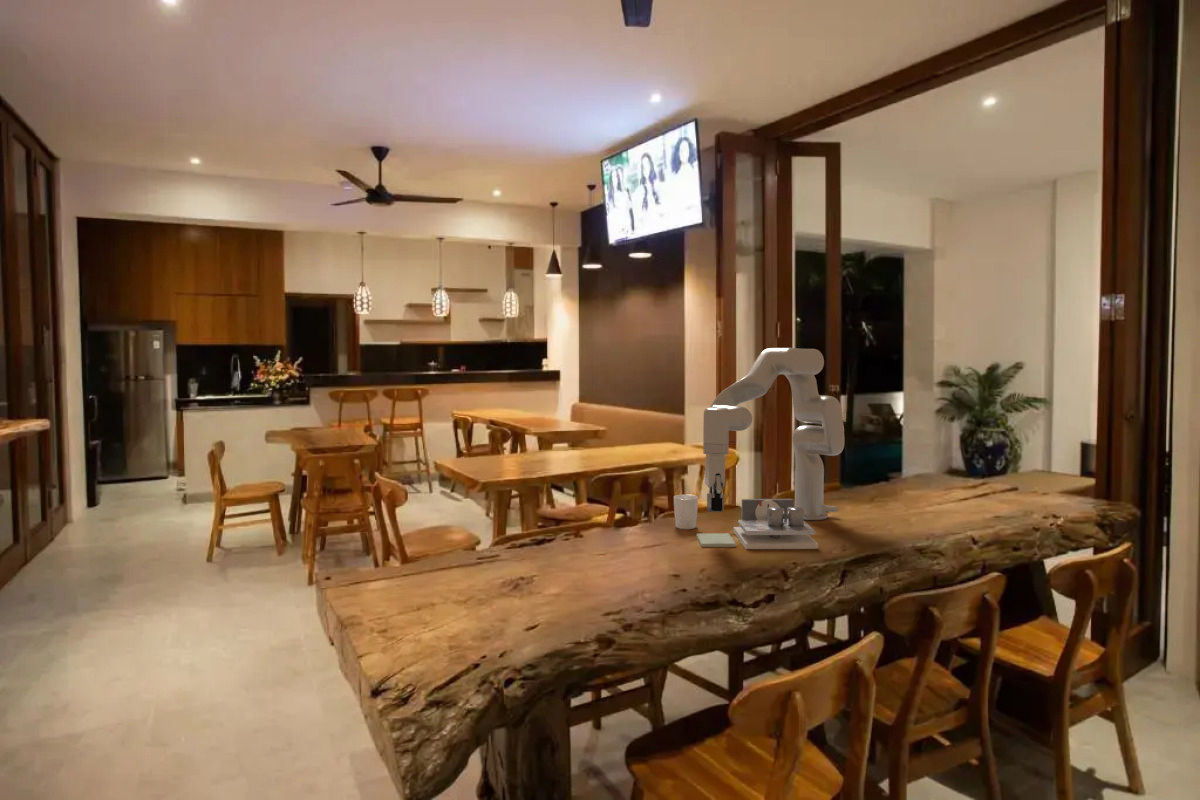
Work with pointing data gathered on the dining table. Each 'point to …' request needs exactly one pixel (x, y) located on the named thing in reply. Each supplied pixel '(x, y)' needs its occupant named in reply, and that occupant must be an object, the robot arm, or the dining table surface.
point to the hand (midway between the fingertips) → (715, 508)
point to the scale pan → (773, 528)
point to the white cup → (685, 511)
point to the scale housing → (758, 511)
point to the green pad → (716, 540)
